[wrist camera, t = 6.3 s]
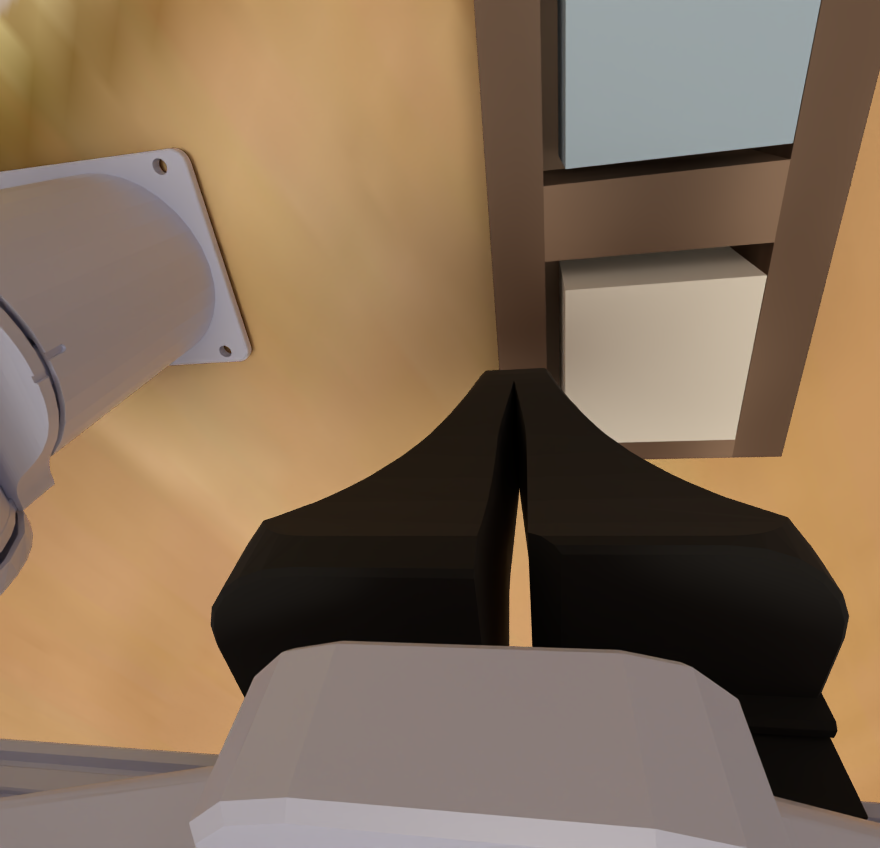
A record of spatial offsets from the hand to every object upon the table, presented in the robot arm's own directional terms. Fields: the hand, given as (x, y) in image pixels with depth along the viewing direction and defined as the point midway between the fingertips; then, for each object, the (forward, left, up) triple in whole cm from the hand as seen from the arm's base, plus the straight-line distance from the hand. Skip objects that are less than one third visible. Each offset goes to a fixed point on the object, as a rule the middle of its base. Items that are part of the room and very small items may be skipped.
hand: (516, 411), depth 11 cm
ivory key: (+4, -2, -8) cm, 9 cm away
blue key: (+4, +6, -8) cm, 11 cm away
